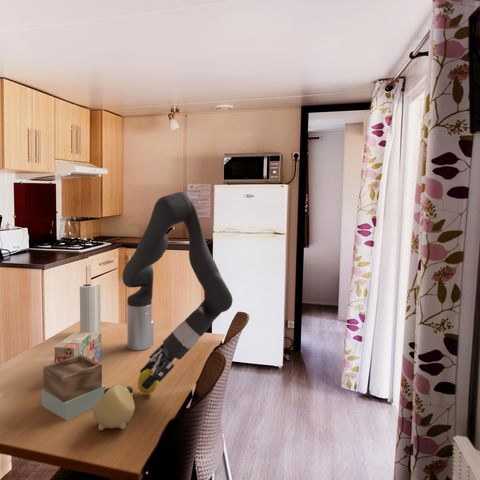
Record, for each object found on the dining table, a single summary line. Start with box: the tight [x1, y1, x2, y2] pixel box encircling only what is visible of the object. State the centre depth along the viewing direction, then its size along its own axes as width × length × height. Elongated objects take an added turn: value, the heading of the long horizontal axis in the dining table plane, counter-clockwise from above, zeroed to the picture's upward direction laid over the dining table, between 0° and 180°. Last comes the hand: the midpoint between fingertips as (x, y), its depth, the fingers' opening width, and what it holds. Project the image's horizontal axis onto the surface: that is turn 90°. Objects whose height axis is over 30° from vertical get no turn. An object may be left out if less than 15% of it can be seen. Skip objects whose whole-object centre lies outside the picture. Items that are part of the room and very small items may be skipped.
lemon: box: [137, 369, 158, 396], centre depth 112 cm, size 6×6×8 cm
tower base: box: [40, 383, 107, 421], centre depth 106 cm, size 12×12×5 cm
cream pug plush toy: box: [92, 384, 136, 431], centre depth 97 cm, size 10×12×11 cm
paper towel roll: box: [79, 283, 102, 333], centre depth 160 cm, size 7×6×21 cm
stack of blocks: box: [53, 332, 103, 363], centre depth 127 cm, size 21×6×12 cm, turn 178°
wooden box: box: [43, 355, 103, 402], centre depth 106 cm, size 11×11×6 cm
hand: (143, 380), depth 111 cm, fingers open, 8 cm apart
